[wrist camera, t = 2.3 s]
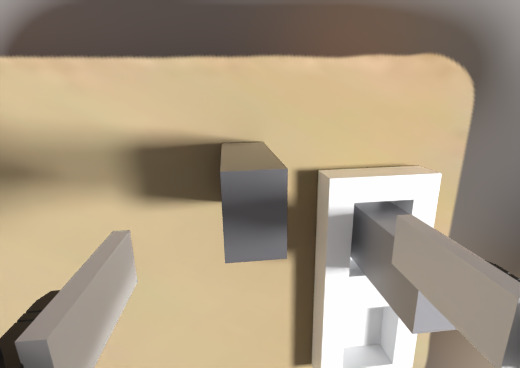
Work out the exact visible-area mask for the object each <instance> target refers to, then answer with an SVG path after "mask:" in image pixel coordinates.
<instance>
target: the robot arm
mask: <svg viewBox="0 0 520 368" xmlns="http://www.w3.org/2000/svg"><path fill="white" fill-rule="evenodd" d="M392 264H393V265H394V266H395V267H396V268H397V269H398V270H399V271H400V272H401V273H402V274H403V275H404V276H405V277H406V278H407V279H408V280H409V281H410V282H411V283H412V284H413V285H414V286H415V287H416V288H417V289H418V290H419V291H420V292H421V293H422V294H423V296H424V297H425V298H426V299H427V300H428V301H429V302H430V303H431V304H432V305H433V306H434V307H435V308H436V309H437V310H438V311H439V312H440V313H441V314H442V315H443V316H444V317H445V318H446V319H447V320H448V321H449V322H450V323H451V324H452V325H453V326H454V327H455V328H456V329H457V330H458V331H459V332H460V333H461V334H462V335H463V336H464V337H465V338H466V339H467V340H468V341H469V342H470V343H471V344H472V345H473V346H474V347H475V348H476V349H477V350H478V351H479V352H480V353H481V354H482V355H483V356H484V357H485V358H486V359H487V360H488V361H489V362H490V363H491V364H492V365H493V366H494V367H495V368H520V279H519V278H517V277H515V276H514V275H512V274H510V273H509V272H508V271H506V270H504V269H503V268H501V267H499V266H498V265H496V264H493V263H491V262H488V261H486V260H484V259H482V258H480V257H479V256H477V255H475V254H474V253H472V252H471V251H469V250H468V249H466V248H464V247H463V246H461V245H460V244H458V243H456V242H455V241H453V240H452V239H450V238H448V237H447V236H445V235H444V234H442V233H440V232H439V231H437V230H436V229H434V228H432V227H431V226H429V225H428V224H426V223H424V222H423V221H421V220H420V219H418V218H417V217H415V216H413V215H412V214H408V215H397V220H396V229H395V238H394V246H393V255H392ZM136 284H137V275H136V268H135V262H134V255H133V248H132V242H131V235H130V230H127V231H113V232H112V233H111V234H110V235H109V236H108V237H107V238H106V240H105V241H104V242H103V243H102V244H101V245H100V246H99V247H98V249H97V250H96V251H95V252H94V253H93V254H92V255H91V256H90V258H89V259H88V260H87V261H86V262H85V263H84V264H83V265H82V267H81V268H80V269H79V270H78V271H77V272H76V273H75V274H74V276H73V277H72V278H71V279H70V280H69V281H68V282H67V283H66V285H65V286H64V287H63V288H62V289H61V290H58V291H51V292H49V293H48V294H46V295H44V296H43V297H41V298H40V299H38V300H37V301H36V302H35V303H34V304H33V305H32V306H31V307H30V308H29V309H28V310H27V311H26V313H25V314H23V315H22V316H21V317H20V318H19V319H18V320H17V323H15V324H14V325H13V326H12V327H11V328H10V329H9V330H8V331H7V332H6V333H5V334H4V335H3V336H2V337H1V338H0V368H94V367H95V365H96V363H97V361H98V359H99V357H100V355H101V353H102V351H103V349H104V347H105V345H106V343H107V341H108V339H109V337H110V335H111V333H112V331H113V329H114V327H115V325H116V323H117V321H118V319H119V317H120V315H121V313H122V311H123V309H124V307H125V306H126V304H127V302H128V300H129V298H130V296H131V294H132V292H133V290H134V288H135V286H136Z"/></svg>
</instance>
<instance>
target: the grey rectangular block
mask: <svg viewBox="0 0 520 368" xmlns="http://www.w3.org/2000/svg"><path fill="white" fill-rule="evenodd" d="M220 180H221V197H222V215H223V232H224V250H225V263H235V262H249V261H262V260H275V259H287V181H288V169H287V168H286V166H285V165H284V164H283V163H282V162H281V161H280V160H279V159H278V158H277V157H276V156H275V154H274V153H273V152H272V151H271V150H270V149H269V148H268V147H267V146H266V145H265V143H264V142H242V143H222V150H221V165H220Z"/></svg>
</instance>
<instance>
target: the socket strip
mask: <svg viewBox="0 0 520 368" xmlns="http://www.w3.org/2000/svg"><path fill="white" fill-rule="evenodd" d="M441 175H442V173H439V172H436V171H433V170H430V169H428V168H425V167H422V166H399V167H376V168H354V169H332V170H318V198H317V226H316V254H315V282H314V310H313V338H312V367H313V368H412V365H413V359H414V352H415V346H416V339H417V334H418V333H428V332H437V331H446V330H455V329H456V328H455V327H454V326H453V325H452V324H451V323H450V322H449V321H448V320H447V319H446V318H445V317H444V316H443V315H442V314H441V313H440V312H439V311H438V310H437V309H436V308H435V307H434V306H433V305H432V304H431V303H430V302H429V301H428V300H427V299H426V298H425V297H424V296H423V294H422V293H421V292H420V291H419V290H418V289H417V288H416V287H415V286H414V285H413V284H412V283H411V282H410V281H409V280H408V279H407V278H406V277H405V276H404V275H403V274H402V273H401V272H400V271H399V270H398V269H397V268H396V267H395V266H394V265H393V264H392V255H393V246H394V238H395V229H396V220H397V215H408V214H412V215H413V216H415V217H417V218H418V219H420V220H421V221H423V222H424V223H426V224H428V225H429V226H431V227H432V228H433V227H434V221H435V214H436V208H437V201H438V195H439V188H440V181H441Z"/></svg>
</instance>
